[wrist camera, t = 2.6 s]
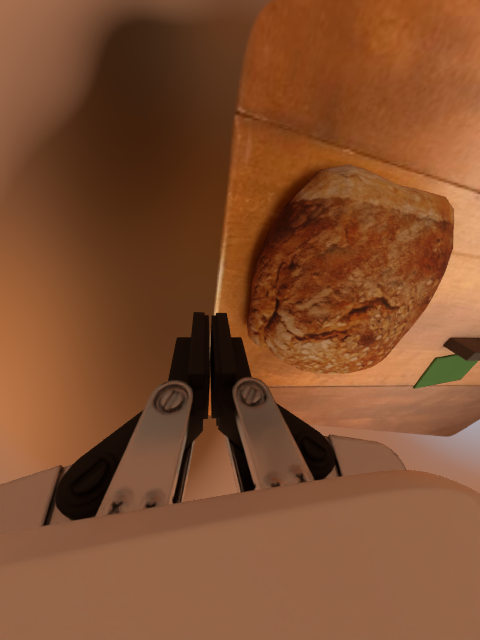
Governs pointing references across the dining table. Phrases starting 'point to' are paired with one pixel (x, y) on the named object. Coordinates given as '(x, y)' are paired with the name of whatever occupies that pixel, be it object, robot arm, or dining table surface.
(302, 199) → the bread
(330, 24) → the dining table surface
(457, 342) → the corner stop
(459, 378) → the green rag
